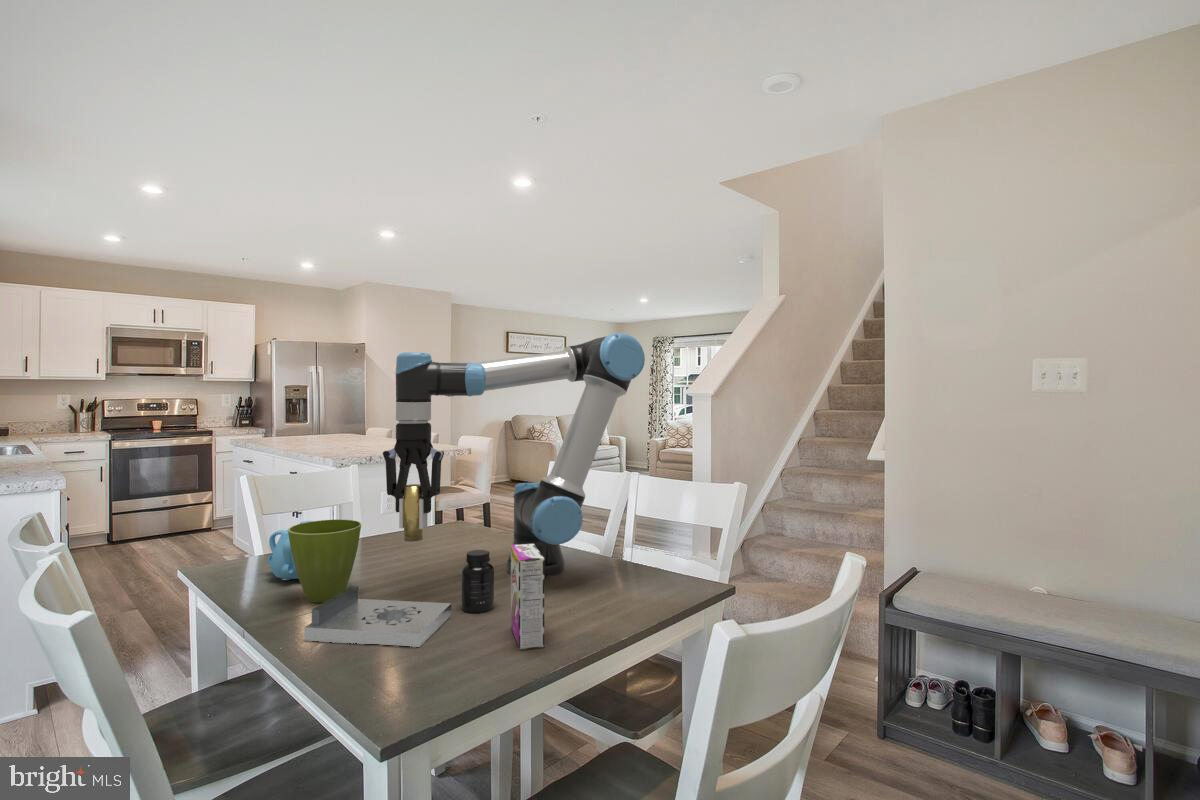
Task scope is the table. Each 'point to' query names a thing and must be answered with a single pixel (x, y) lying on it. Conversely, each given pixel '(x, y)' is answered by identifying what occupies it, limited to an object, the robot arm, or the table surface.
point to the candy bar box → (527, 596)
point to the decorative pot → (282, 556)
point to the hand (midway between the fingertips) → (413, 527)
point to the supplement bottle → (477, 582)
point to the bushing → (412, 513)
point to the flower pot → (324, 556)
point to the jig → (375, 620)
